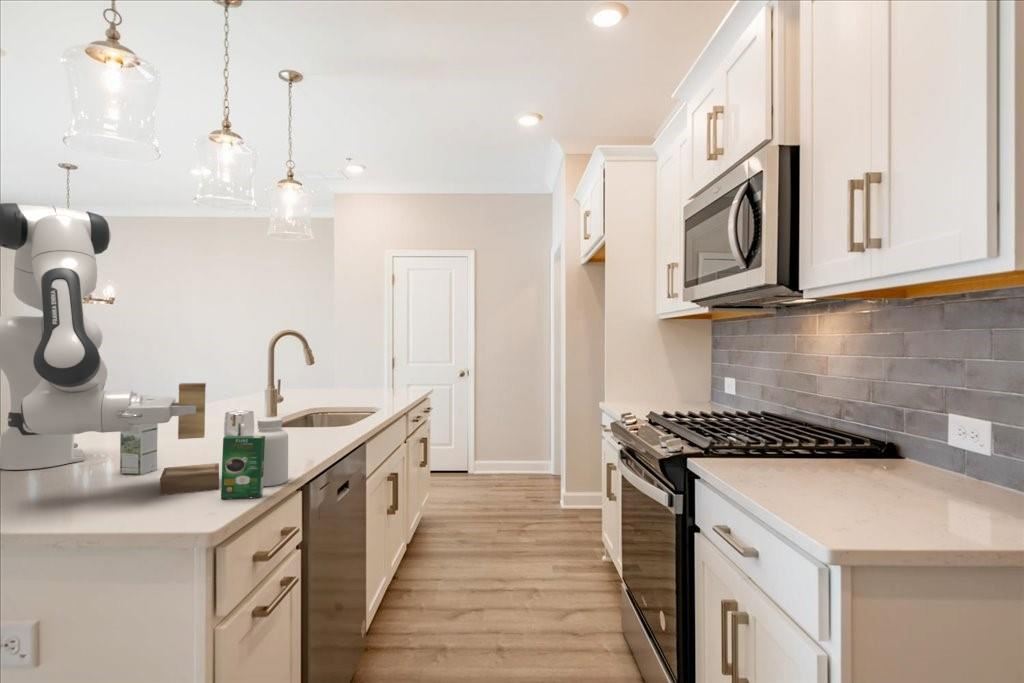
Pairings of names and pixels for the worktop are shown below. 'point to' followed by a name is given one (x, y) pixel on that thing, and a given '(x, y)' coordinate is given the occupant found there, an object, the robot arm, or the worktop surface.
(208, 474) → the walnut base
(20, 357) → the robot arm
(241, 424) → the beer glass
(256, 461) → the coffee box
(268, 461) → the pill bottle
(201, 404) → the oak block
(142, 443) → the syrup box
